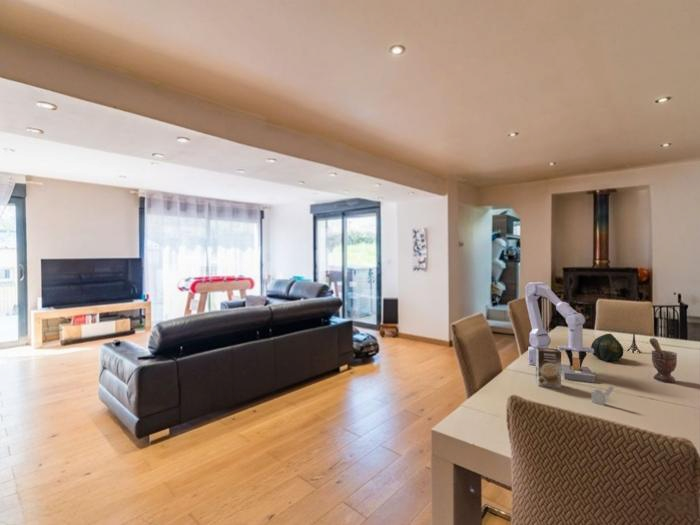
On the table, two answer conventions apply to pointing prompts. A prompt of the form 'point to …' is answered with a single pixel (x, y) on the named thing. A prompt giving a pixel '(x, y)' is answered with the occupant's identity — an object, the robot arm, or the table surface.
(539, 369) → the coffee box
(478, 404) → the table surface
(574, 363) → the plug
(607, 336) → the squash
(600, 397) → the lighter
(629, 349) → the eiffel tower figurine
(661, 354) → the mortar and pestle
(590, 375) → the grey flat block
